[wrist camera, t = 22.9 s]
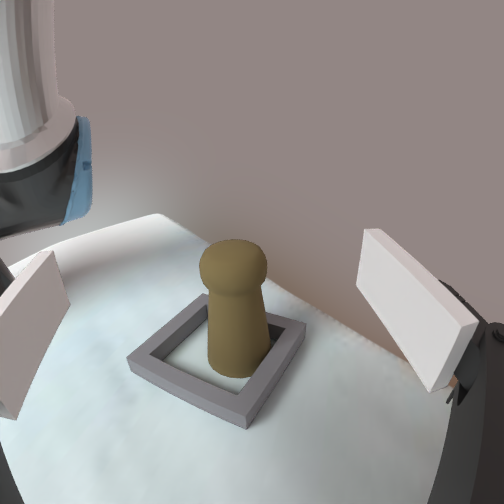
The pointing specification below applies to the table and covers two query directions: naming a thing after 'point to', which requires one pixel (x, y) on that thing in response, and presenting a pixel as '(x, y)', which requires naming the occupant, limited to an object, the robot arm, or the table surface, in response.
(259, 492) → the table surface
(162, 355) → the gray square frame
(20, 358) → the robot arm
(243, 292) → the cork
